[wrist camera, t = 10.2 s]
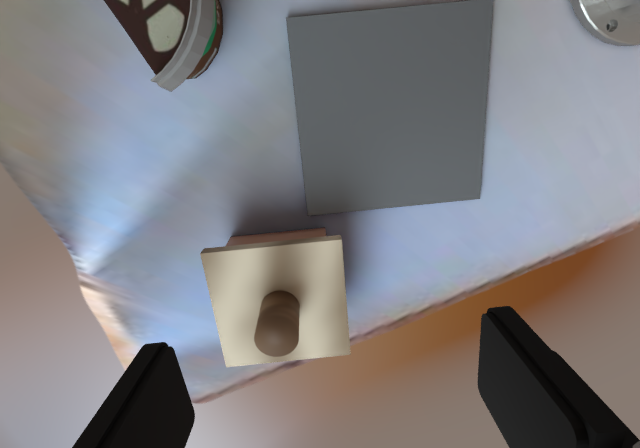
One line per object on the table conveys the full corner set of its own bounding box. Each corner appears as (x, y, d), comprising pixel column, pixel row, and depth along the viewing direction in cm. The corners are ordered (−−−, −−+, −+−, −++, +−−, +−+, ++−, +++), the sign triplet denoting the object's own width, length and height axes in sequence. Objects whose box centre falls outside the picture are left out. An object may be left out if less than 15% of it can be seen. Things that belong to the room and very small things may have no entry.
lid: (340, 234, 27) (347, 261, 23) (349, 346, 31) (357, 390, 26) (204, 248, 27) (182, 278, 23) (228, 359, 31) (214, 405, 26)
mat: (489, 0, 27) (493, -2, 26) (476, 197, 32) (479, 198, 31) (286, 19, 27) (286, 17, 26) (307, 214, 32) (307, 215, 31)
